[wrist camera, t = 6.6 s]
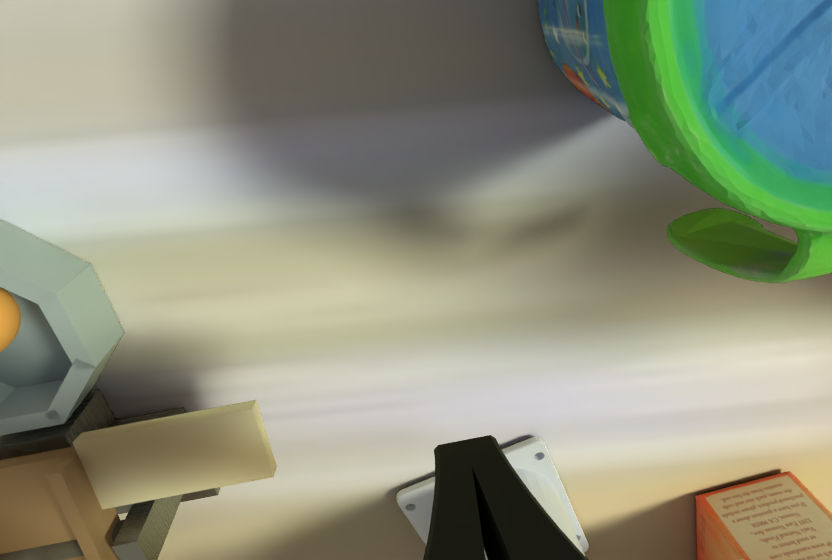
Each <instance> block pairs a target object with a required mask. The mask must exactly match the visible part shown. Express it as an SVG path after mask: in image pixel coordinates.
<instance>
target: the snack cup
mask: <svg viewBox="0 0 832 560" xmlns="http://www.w3.org/2000/svg"><path fill="white" fill-rule="evenodd" d="M538 7H539V16H540V22H541V26H542V28H543V32H544V38H545V43H546V45H547V47H548V50H549V52H550V53H551V57H552V59H553V60H554V62H555V63H556V64H557V66H558V67H559V68H560V70H561V71H562V72H563V73H564V75H565V76H566V77H567V79H568V80H570V81H571V82H572V83H573V85H574V86H575V87H576V88H577V89H578V90H579V91H581V92H582V93H583V94H584V95H586V96H587V97H588V98H590V99H591V100H593V101H594V102H596V103H597V104H599V105H600V106H602V107H603V108H605V109H606V110H608V111H609V112H611V113H612V114H613V115H615V116H616V117H618V118H619V119H621V120H624V121H626V122H627V123H628V124H629V125H630V126H632V127H633V128H634V129H635V130H636V131H637V132H638V134H639V136H640V137H641V139H642V141H643V142H644V144H645V146H646V147H647V149H648V150H649V152H650V153H651V154H652V156H653V157H654V158H655V159H656V160H657V161H658V162H659V163H660V164H662V165H663V166H666V167H670V168H671V169H672V170H674V171H675V172H677V173H678V174H680V175H681V176H682V177H683V178H685V179H686V180H687V181H688V182H690V183H691V184H693V185H695V186H696V187H698V188H700V189H701V190H703V191H704V192H706V193H708V194H710V195H711V196H713V197H715V198H716V199H718V200H720V201H721V202H723V203H725V204H727V205H729V206H732V207H734V208H736V209H738V210H740V211H743V212H745V213H748V214H750V215H753V216H756V217H758V218H761V219H764V220H766V221H769V222H772V223H775V224H779V225H783V226H787V227H792V228H793V229H794V230H795V232H796V234H797V237H798V244H797V243H795V242H792V241H790V240H788V239H785V238H783V237H781V236H779V235H776V234H774V233H772V232H769V231H767V230H765V229H764V228H763V226H762V225H760V224H759V223H758V222H757V221H755V220H753V219H751V218H750V217H748V216H746V215H744V214H741V213H738V212H735V211H731V210H726V209H721V208H711V209H705V210H700V211H697V212H693V213H690V214H687V215H684V216H682V217H680V218H678V219H676V220H674V221H673V222H672V223H671V224H669V226H668V228H667V235H668V238H669V240H670V241H671V242H672V243H673V245H674V246H675V247H676V248H677V249H679V250H680V251H681V252H683V253H684V254H685V255H687V256H689V257H691V258H694V259H695V260H697V261H699V262H701V263H704V264H705V265H707V266H709V267H712V268H714V269H717V270H719V271H721V272H724V273H728V274H731V275H734V276H736V277H739V278H744V279H748V280H752V281H758V282H766V283H783V282H787V281H792V280H800V279H807V278H812V277H815V276H819V275H824V274H828V273H832V0H538Z"/></svg>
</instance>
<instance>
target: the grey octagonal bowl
mask: <svg viewBox="0 0 832 560" xmlns="http://www.w3.org/2000/svg"><path fill="white" fill-rule="evenodd" d="M0 287H2V288H4V289H5V290H7V291H8V292H9V293H10V294H11V295H12V296H13V297H14V299H15V300H16V302H17V304H18V306H19V309H20V313H21V324H20V328H19V331H18V333H17V335H16V337H15V338H14V340H13V341H12V342H11V343H10V345H9V346H8V347H6V348H5V349H4V350H3V351H1V352H0V436H1V435H7V434H12V433H17V432H23V431H28V430H33V429H39V428H44V427H49V426H55V425H60V424H64V423H65V422H66V421H67V419H68V418H69V417H70V416H71V414H72V413H73V412H74V410H75V409H76V408H77V407H78V405H79V404H80V403H81V402H82V400H83V399H84V398H85V396H86V395H87V394H88V393H89V391H90V390H91V389H92V387H93V386H94V385H95V383H96V381H97V379H98V377H99V376H100V374H101V372H102V370H103V369H104V367H105V365H106V363H107V362H108V360H109V358H110V356H111V355H112V353H113V351H114V349H115V348H116V346H117V344H118V342H119V341H120V339H121V337H122V335H123V334H124V331H123V329H122V327H121V325H120V323H119V321H118V319H117V317H116V314H115V312H114V310H113V308H112V306H111V304H110V302H109V300H108V298H107V296H106V294H105V292H104V290H103V288H102V286H101V284H100V282H99V280H98V278H97V276H96V274H95V272H94V270H93V268H92V266H91V264H89V263H87V262H85V261H83V260H81V259H79V258H77V257H75V256H73V255H71V254H69V253H67V252H65V251H63V250H61V249H59V248H57V247H55V246H53V245H51V244H49V243H47V242H45V241H43V240H41V239H39V238H37V237H35V236H33V235H31V234H29V233H27V232H25V231H23V230H21V229H19V228H17V227H15V226H13V225H11V224H9V223H7V222H5V221H4V220H2V221H0Z"/></svg>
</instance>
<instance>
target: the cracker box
mask: <svg viewBox="0 0 832 560" xmlns="http://www.w3.org/2000/svg"><path fill="white" fill-rule="evenodd" d="M695 498H696V534H697V560H832V513H831V512H830V511H829V510H828V509H827V508H826V507H825V506H824V505H823V504H822V503H821V502H820V501H819V500H818V499H817V498H816V497H815V496H814V495H813V494H812V493H811V492H810V491H809V490H808V489H807V488H806V487H805V486H804V485H803V484H802V483H801V482H800V481H799V480H798V479H797V477H796V476H794V475H793V474H792V473H791V472H790V471H789V472H784V473H780V474H777V475H773V476H769V477H765V478H761V479H757V480H754V481H750V482H746V483H743V484H739V485H735V486H731V487H727V488H723V489H719V490H716V491H712V492H708V493H704V494H700V495H697V496H696V497H695Z"/></svg>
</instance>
